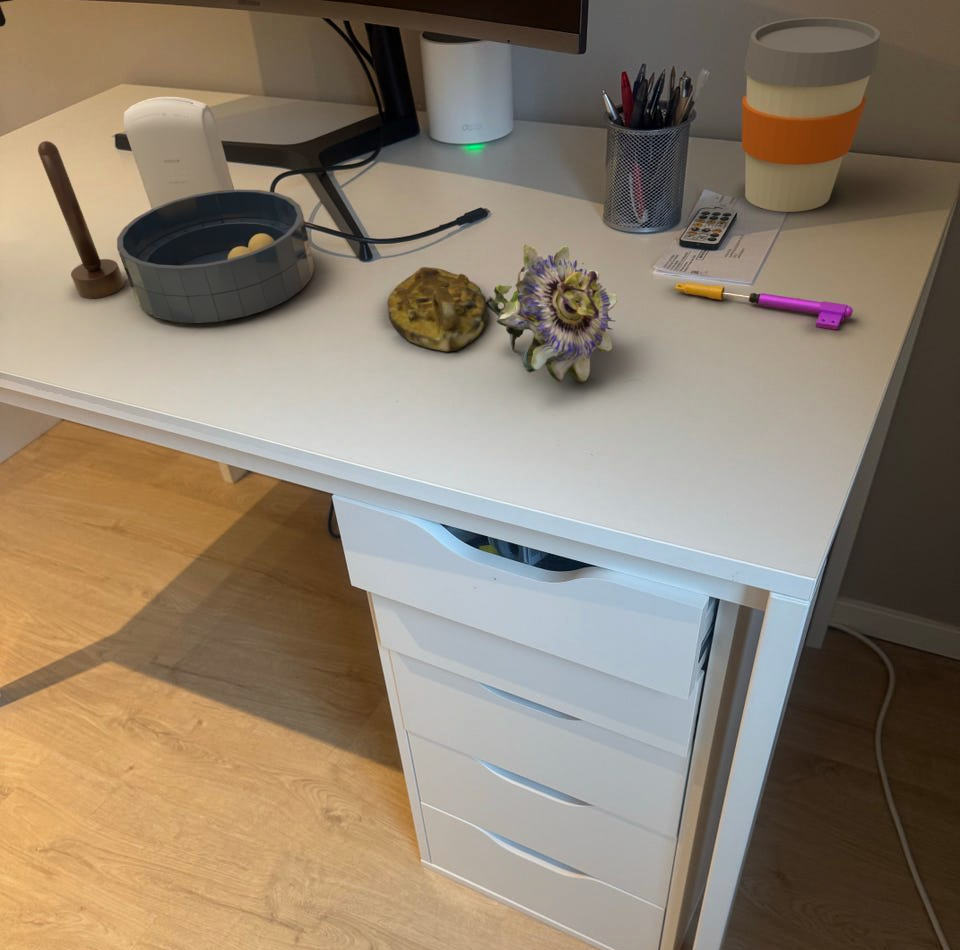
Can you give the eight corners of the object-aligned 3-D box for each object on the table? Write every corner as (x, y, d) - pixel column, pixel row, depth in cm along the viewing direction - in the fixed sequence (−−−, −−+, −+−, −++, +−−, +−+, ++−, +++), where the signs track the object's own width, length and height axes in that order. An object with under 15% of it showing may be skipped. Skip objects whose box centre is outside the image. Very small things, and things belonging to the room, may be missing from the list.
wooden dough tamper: (75, 301, 93) (14, 154, 83) (80, 281, 96) (22, 136, 86) (122, 294, 93) (67, 146, 83) (126, 274, 97) (73, 129, 86)
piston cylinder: (852, 313, 80) (678, 287, 86) (854, 302, 79) (678, 277, 85) (844, 334, 79) (668, 306, 85) (846, 323, 78) (668, 296, 84)
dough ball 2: (282, 233, 93) (270, 252, 92) (282, 256, 96) (271, 275, 94) (254, 223, 93) (242, 241, 92) (255, 246, 96) (244, 264, 94)
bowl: (139, 343, 86) (116, 282, 82) (137, 264, 98) (117, 208, 94) (326, 307, 88) (314, 245, 84) (302, 234, 101) (290, 177, 96)
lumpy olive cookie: (378, 299, 91) (410, 371, 81) (366, 254, 87) (397, 322, 77) (466, 271, 91) (508, 339, 81) (457, 225, 88) (500, 290, 78)
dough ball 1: (265, 274, 93) (239, 276, 94) (259, 243, 92) (232, 245, 93) (253, 279, 91) (226, 281, 92) (246, 247, 89) (219, 249, 90)
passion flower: (578, 431, 80) (552, 376, 69) (480, 379, 83) (439, 318, 72) (646, 322, 80) (631, 248, 68) (544, 275, 83) (514, 196, 72)
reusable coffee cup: (847, 221, 93) (884, 53, 82) (722, 216, 96) (742, 53, 85) (848, 174, 101) (882, 15, 90) (733, 171, 104) (752, 17, 93)
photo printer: (149, 223, 106) (110, 106, 97) (164, 208, 109) (127, 93, 100) (232, 222, 104) (200, 103, 95) (244, 207, 107) (214, 90, 98)
